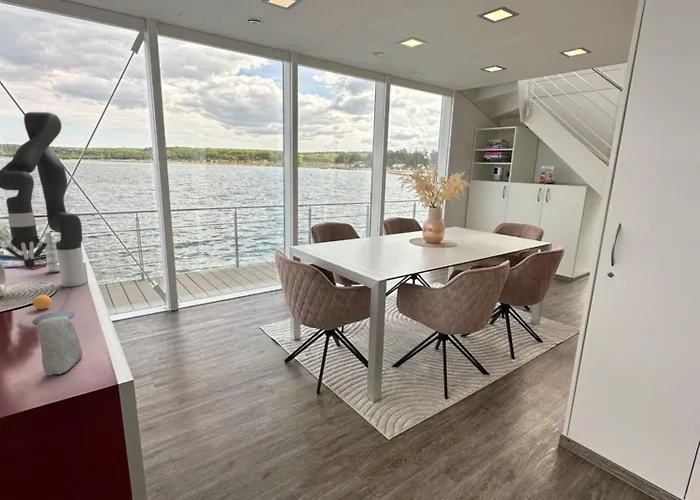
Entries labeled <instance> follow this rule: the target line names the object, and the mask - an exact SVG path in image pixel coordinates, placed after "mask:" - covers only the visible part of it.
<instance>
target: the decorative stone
mask: <svg viewBox="0 0 700 500" xmlns="http://www.w3.org/2000/svg"><path fill="white" fill-rule="evenodd" d="M37 331H38V339H39V343H40V344H39V345H40V348H41V364H42V369H43V372H44V375H45V374H46V375H45V376H47V375H50V374H59V375H61V374H60V373H63V372H65V371H67V370H69V369H70V368H71V367H72V366H73V367H74V366H75V365H76V364H75V363H76V362H77V363H78V361H79V360H81V358H82V357H83V349H82V346H81V343H80V339H79V335H78V334H77V330H76V328H75V325H74V324H73V322H72V321H71V320H70V319H68V318H67V317H66V316H60V317H53V318H48V319H44V320H42V321H40V322H39V323H38V324H37ZM73 367H72V368H73ZM72 368H71V369H72ZM71 369H70V370H71ZM70 370H69V371H70ZM67 372H68V371H67ZM65 373H66V372H65ZM63 374H64V373H63ZM50 376H51V375H50Z"/></svg>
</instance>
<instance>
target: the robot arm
mask: <svg viewBox="0 0 700 500" xmlns="http://www.w3.org/2000/svg"><path fill="white" fill-rule="evenodd" d="M23 123H24V127H25V131H26V133H27V137H28V139H29V140H27V141H26V142H25V143H23V144H22V145H20V146H19V147H18V148H17V150H16V152H15V154H14V155H13V157H12V159H11V160H10V161H9V162H7V164H6V165H5V166H3V167H2V168H1V169H0V189H2V190H4V191H18V192H17V194H16V195H15V196H11V197H10V196H9V197H8V198H7V199H6V207H7V213H8V225H9V230H10V236H11V241H10V244H8V245H7V246H5V247H4V250H6V251H7V252H9V253H10V254H11V255H13V256H14V257H16V258H17V259H20V260H23V264H24V267H25V268H26V269H28V270H29V269H33V268H34V267H35V265H36V264H35V258H37V257H40V256H41V254H42V253H43V251H45V250H44V249H45V247H46V246H47V244H46V243H44V241H41V239H40V238H39V237H38V231H37V224H36V219H35V214H34V213H33V205H32V198H33V191H34V188H35V187H34V186H35V180H34V179H33V176H32V175H31V174H30V173H33V172H34V171H35V169H36V167H37V172H38V176H39V181H40V185H41V187H42V191H43V192H42V193H43V198H44V202H45V209H46V219H47V223H48V224H47V225H48V226H49V228H50V230H51V231H53V232H55V233H59V234H60V240H59V241H58V240H57V241H58V242H57V243H56V250H57V257H58V263H59V269H60V271H59V275H60V281H61V286H62V287H64V288H65V287H67V288H69V287H71V288H72V287H79V286H82V285H85V284H86V283H87V282H89V278H88V271H87V263H86V261H84V256H83V255H84V254H83V249H82V242H83V229H82V226H83V225H82V222H81V219H80V217H79V216H78V215H77V214H76V213H72V212H67V211H66V206H65V194H66V191H67V187H68V178H67V173H66V169H65V166H64V165H63V163H62V162H61V161H60V160H59V158H57V156H56V155H55V154H54V153H53V152H52V151H51V150H50V149H49V146H50V145H51V144H52V143H53V141H54V140H55V139H56V138H57V137H58V135H59V134H60V133H61V131H62V122H61V119H60V118H59V116H58V115H57V114H56V113H54V112H49V111H48V112H47V111H45V112H43V111H30V112H29V111H28V112H26V113H25V114H24V117H23ZM36 247H38V248H36ZM15 248H16V249H17V250H18V251H20V253H21V254H19V253H18V252H17V251H16V250H15ZM35 249H36V250H35Z"/></svg>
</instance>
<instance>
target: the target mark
mask: <svg viewBox="0 0 700 500" xmlns="http://www.w3.org/2000/svg"><path fill="white" fill-rule="evenodd" d="M75 315H76V314H75V312H74V311H70V310H62V311H61V310H60V311H53V312H48V313H43V314H42V315H39V316H37V317H36V318H34V319H33V320H32V323H33V324H35V325H38V323H39V322H40V321H42V320H44V319H48V318H53V317H60V316H66V317H67V318H68V319H69V320H70V319H72V318H73V317H74V316H75Z"/></svg>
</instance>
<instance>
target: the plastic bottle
mask: <svg viewBox="0 0 700 500" xmlns="http://www.w3.org/2000/svg"><path fill="white" fill-rule="evenodd" d="M44 238H45V239H44V240H43V242H44V243H46V244H47V246H46V247H45V249H44V250H43V251H44V253H45V257H46V270H47V271H48V273H58V272H59V273H60V269H59V263H58V257H57V250H56V243H57V242H58V240H57V239H56V238H55V233H54V232H47V233H44Z"/></svg>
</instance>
